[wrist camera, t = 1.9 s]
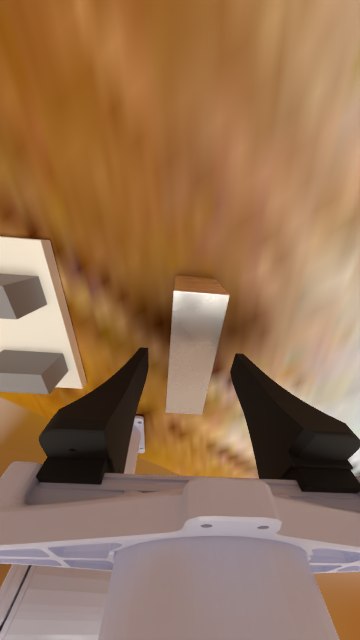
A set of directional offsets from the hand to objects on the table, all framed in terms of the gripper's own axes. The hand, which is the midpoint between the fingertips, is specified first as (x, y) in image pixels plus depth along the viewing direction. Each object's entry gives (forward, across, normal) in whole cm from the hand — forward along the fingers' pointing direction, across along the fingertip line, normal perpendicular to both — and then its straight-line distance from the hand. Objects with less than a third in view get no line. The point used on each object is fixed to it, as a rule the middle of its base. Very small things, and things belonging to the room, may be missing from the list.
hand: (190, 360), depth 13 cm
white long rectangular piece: (+4, 0, 0) cm, 4 cm away
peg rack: (+4, +16, 0) cm, 17 cm away
